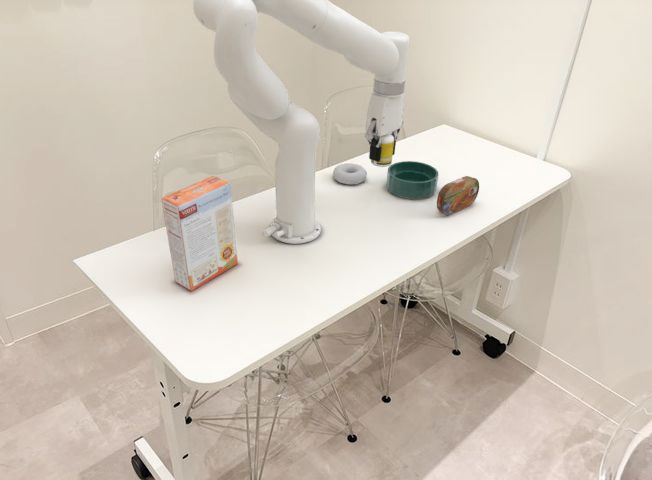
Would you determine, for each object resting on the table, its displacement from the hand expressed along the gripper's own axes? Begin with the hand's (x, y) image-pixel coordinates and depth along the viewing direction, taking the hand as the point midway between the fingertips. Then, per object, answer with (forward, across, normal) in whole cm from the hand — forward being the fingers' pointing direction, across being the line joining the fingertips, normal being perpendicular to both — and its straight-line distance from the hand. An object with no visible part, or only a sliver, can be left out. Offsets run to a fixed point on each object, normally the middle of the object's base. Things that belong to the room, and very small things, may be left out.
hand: (381, 156), depth 151 cm
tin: (+14, -13, +17) cm, 26 cm away
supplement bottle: (+2, 0, 0) cm, 2 cm away
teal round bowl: (+14, -15, +1) cm, 20 cm away
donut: (+14, -8, -16) cm, 23 cm away
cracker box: (+16, +52, -9) cm, 55 cm away
